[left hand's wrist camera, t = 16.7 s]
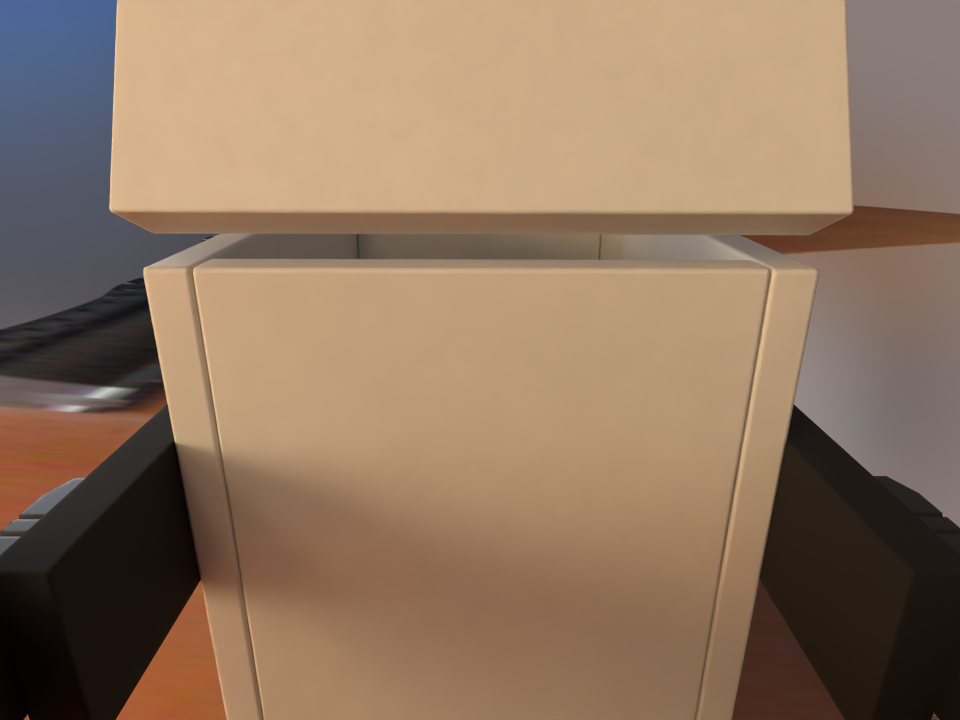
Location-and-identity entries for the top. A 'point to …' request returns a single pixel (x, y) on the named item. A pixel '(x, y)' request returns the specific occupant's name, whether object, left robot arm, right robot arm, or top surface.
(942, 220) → the top surface
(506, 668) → the chest
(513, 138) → the lid
